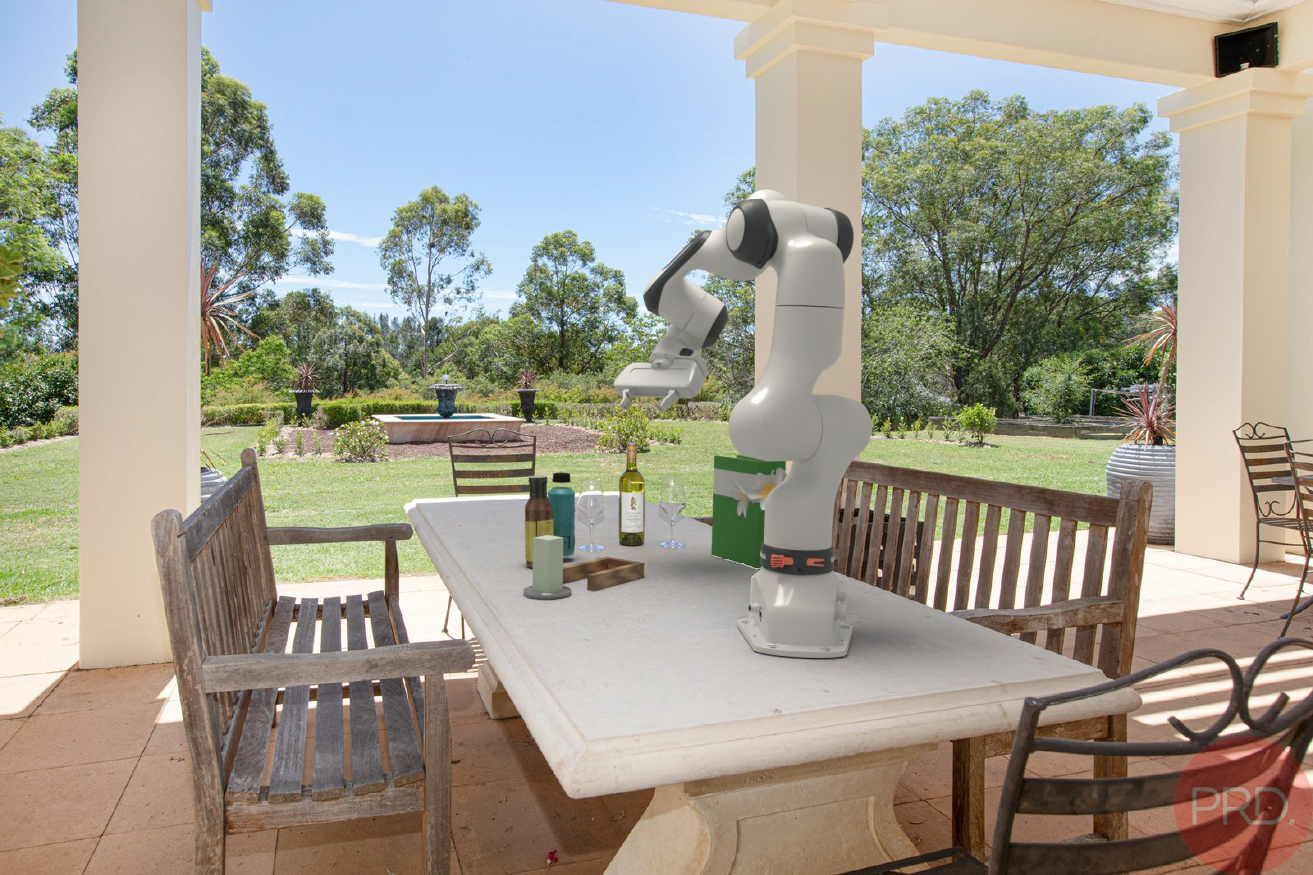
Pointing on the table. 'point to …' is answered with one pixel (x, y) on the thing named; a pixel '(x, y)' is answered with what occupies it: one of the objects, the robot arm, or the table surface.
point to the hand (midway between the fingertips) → (641, 408)
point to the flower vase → (757, 490)
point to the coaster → (546, 594)
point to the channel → (604, 572)
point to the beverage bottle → (563, 512)
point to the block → (547, 563)
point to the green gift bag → (728, 528)
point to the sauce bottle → (537, 515)
